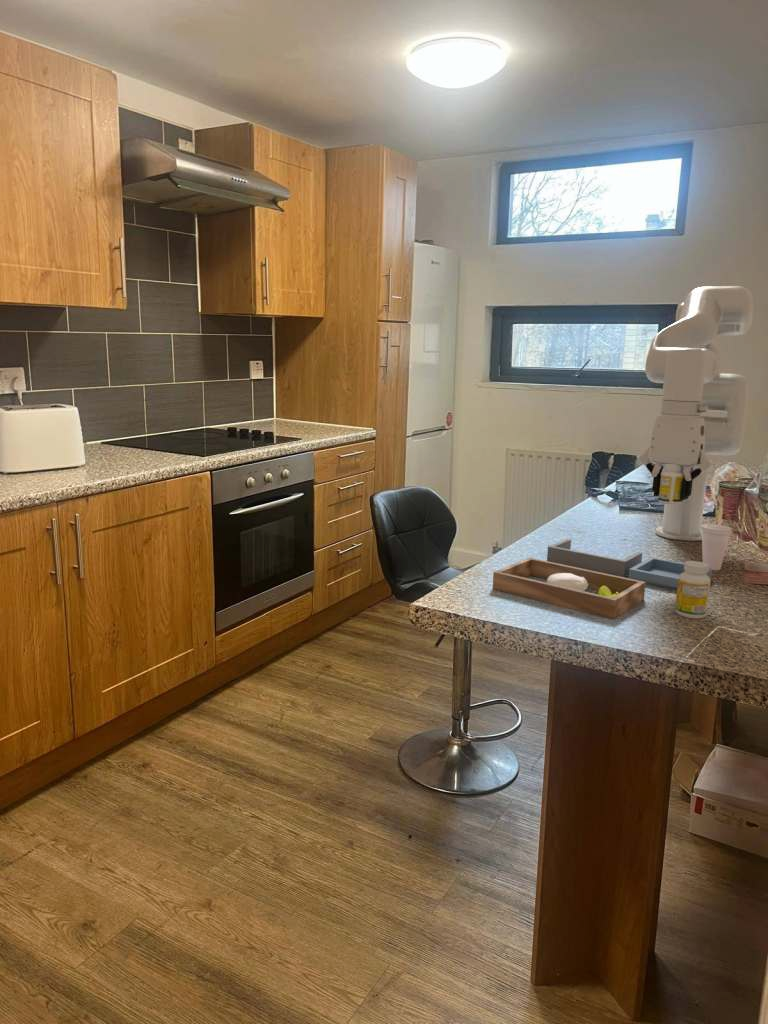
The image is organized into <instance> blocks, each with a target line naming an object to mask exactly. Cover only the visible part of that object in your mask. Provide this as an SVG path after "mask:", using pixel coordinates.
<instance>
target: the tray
mask: <svg viewBox="0 0 768 1024" xmlns="http://www.w3.org/2000/svg"><path fill="white" fill-rule="evenodd" d="M684 564H685V562H679V561H673V560H667V559H662V558H658V557H657V558H656V557H649V558H647V559H645V560H642V562H641V563H640V564H638V565H636V566H634V567H632V568H630V569H629V575H628V577H627V578H629V579H634V580H639V581H644V582H646V585H649V586H653V587H657V588H658V587H659V588H663V589H668V590H673V591H677V590H678V581H679V576H680V574H681V573H683V572H685V570H684ZM712 573H713V570H712V569H711V568H708V572H707V573H706V575H707V576H708V577H709V578H710V581H711V580H712Z"/></svg>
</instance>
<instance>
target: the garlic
mask: <svg viewBox="0 0 768 1024" xmlns="http://www.w3.org/2000/svg"><path fill="white" fill-rule="evenodd" d="M546 583H550V584H554V585H558V586H563V587H567V588H572V589H576V590H580V591H585V592H586V590H587V589H588V588H587V587H588V583H587V580H586V579H585V578H584V577H579V576H576V575H574V574H571V573H558V574H553V575H551V576H549V577H548V579H546Z"/></svg>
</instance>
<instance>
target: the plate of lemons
mask: <svg viewBox="0 0 768 1024" xmlns="http://www.w3.org/2000/svg"><path fill="white" fill-rule="evenodd" d="M593 594H598V595H602V596H606V597H611V598H613V597H615V596H616V595H618V594H619V593H618V592H616V594H615V593H611V591H610V590H609V588H608V587H606V586H602V587H601V588H600V589H599V591H598V592H594V593H593Z"/></svg>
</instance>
